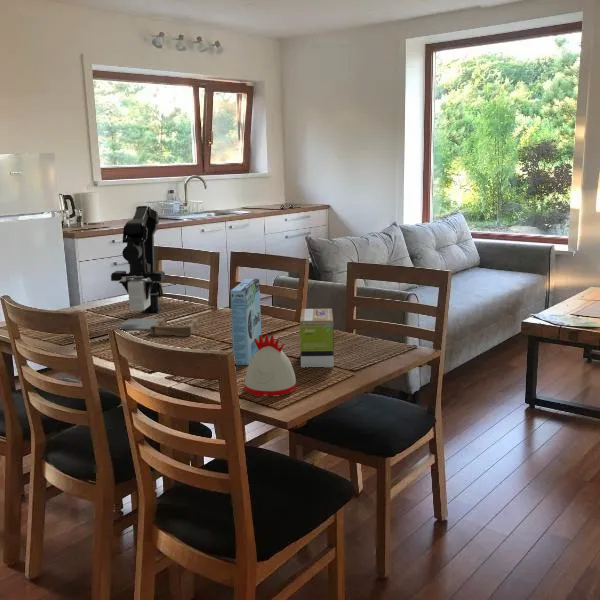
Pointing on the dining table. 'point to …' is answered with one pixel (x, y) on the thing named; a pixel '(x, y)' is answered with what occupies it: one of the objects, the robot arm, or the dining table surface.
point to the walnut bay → (174, 328)
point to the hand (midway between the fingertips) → (139, 299)
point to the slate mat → (138, 324)
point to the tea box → (317, 338)
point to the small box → (138, 294)
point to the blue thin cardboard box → (245, 320)
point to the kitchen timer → (269, 370)
